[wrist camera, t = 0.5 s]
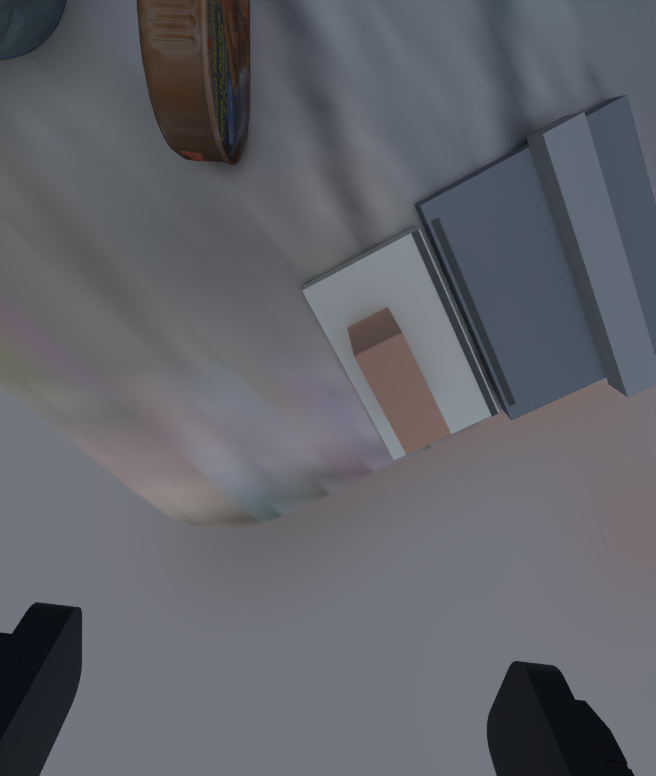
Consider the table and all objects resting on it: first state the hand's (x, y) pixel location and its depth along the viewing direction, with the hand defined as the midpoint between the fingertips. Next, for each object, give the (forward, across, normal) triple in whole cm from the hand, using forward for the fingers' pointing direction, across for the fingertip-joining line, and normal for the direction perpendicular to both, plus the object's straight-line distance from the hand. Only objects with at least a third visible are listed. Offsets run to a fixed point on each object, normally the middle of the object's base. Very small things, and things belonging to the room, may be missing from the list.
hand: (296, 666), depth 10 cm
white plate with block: (+23, -6, 0) cm, 24 cm away
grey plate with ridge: (+23, -13, -6) cm, 27 cm away
